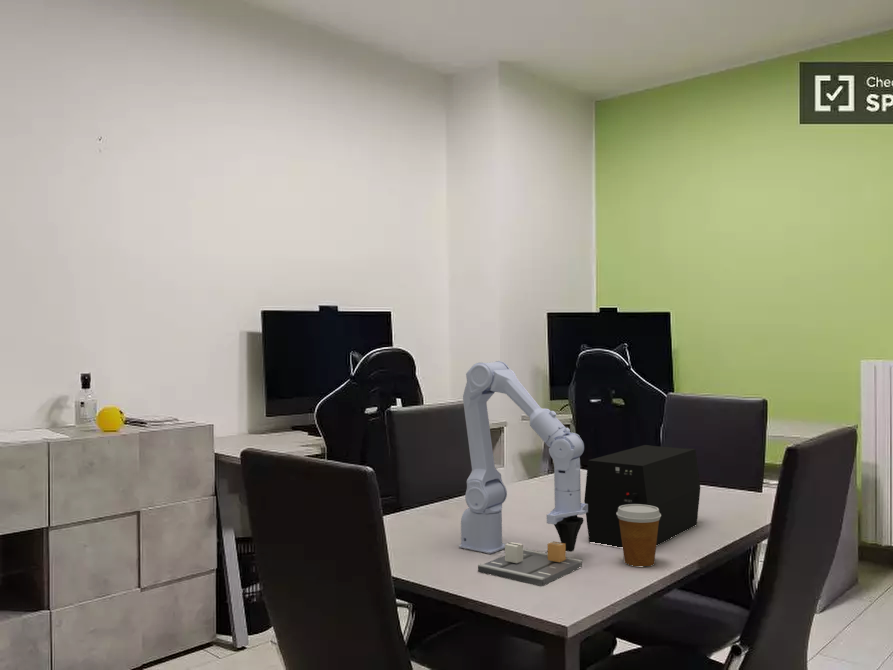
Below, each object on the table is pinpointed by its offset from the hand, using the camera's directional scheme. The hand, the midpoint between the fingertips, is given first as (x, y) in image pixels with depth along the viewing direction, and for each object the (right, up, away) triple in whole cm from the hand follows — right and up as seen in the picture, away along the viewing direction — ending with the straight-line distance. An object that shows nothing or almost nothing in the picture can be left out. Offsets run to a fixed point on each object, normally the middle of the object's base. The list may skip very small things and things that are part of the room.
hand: (568, 550), depth 170 cm
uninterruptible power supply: (+22, -3, +22) cm, 32 cm away
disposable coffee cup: (+15, -2, -2) cm, 16 cm away
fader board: (-9, -3, -5) cm, 11 cm away
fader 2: (-3, -1, -4) cm, 5 cm away
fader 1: (-12, -1, -4) cm, 13 cm away
